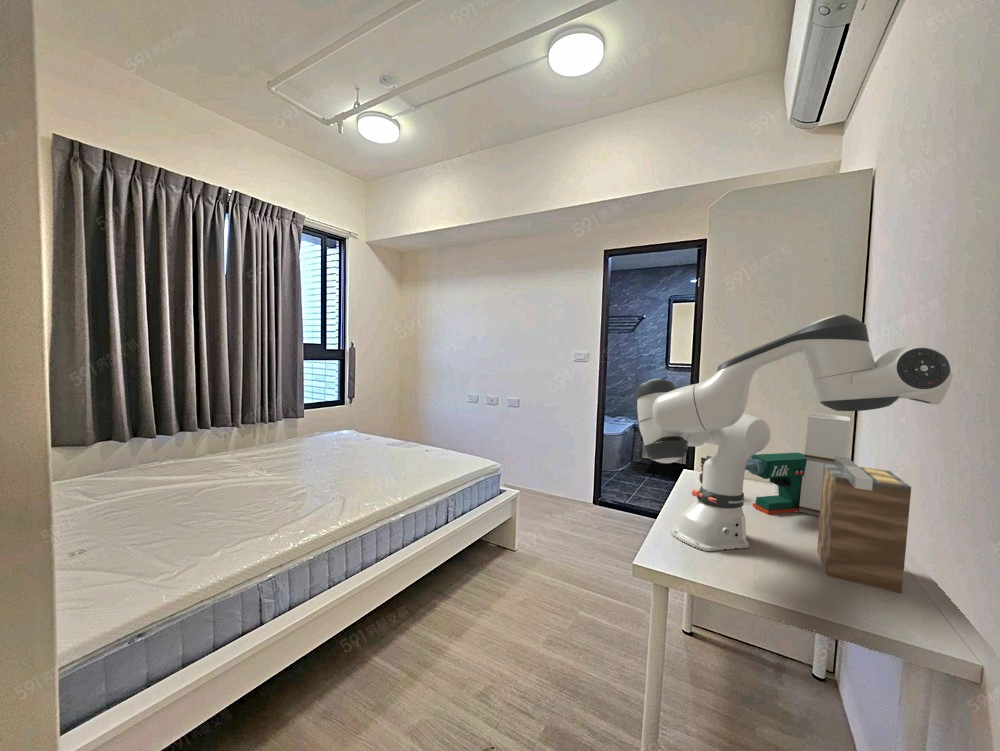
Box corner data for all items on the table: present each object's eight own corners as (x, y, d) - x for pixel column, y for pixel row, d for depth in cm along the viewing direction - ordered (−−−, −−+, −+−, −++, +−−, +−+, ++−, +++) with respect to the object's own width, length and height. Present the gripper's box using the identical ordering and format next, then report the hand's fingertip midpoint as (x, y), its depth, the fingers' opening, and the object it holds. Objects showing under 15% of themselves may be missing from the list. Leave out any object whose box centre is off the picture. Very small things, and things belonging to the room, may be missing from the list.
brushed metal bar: (872, 490, 93) (872, 479, 93) (854, 488, 95) (855, 477, 94) (847, 466, 113) (848, 458, 113) (834, 465, 114) (834, 456, 114)
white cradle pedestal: (838, 511, 149) (849, 416, 146) (839, 520, 141) (850, 421, 138) (800, 502, 156) (809, 412, 153) (798, 511, 148) (808, 416, 145)
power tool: (737, 518, 141) (745, 462, 138) (722, 508, 148) (729, 455, 145) (809, 511, 149) (818, 458, 146) (791, 502, 156) (799, 452, 153)
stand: (901, 593, 98) (911, 486, 96) (827, 576, 105) (835, 475, 103) (881, 564, 112) (889, 469, 110) (817, 550, 119) (823, 461, 117)
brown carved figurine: (711, 490, 169) (713, 454, 168) (716, 495, 164) (718, 458, 163) (696, 489, 170) (698, 453, 169) (701, 493, 165) (703, 457, 164)
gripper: (821, 373, 87) (809, 377, 99) (950, 408, 77) (919, 408, 89) (833, 344, 86) (819, 352, 98) (965, 376, 77) (931, 380, 89)
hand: (868, 379), depth 94 cm, fingers open, 8 cm apart
